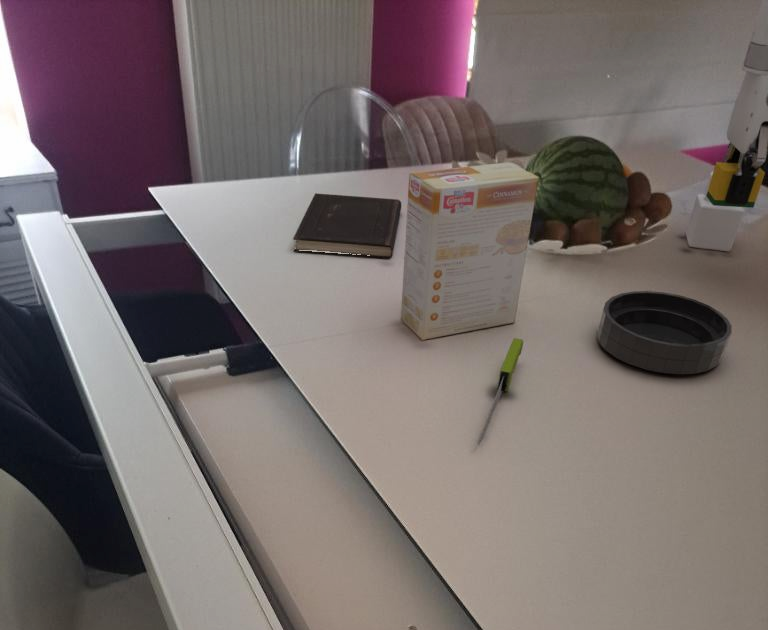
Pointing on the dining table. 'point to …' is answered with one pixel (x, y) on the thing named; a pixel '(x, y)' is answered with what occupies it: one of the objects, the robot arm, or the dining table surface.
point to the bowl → (663, 332)
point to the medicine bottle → (713, 224)
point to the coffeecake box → (465, 247)
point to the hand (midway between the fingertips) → (731, 196)
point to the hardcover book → (349, 226)
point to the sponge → (722, 182)
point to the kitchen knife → (504, 377)
